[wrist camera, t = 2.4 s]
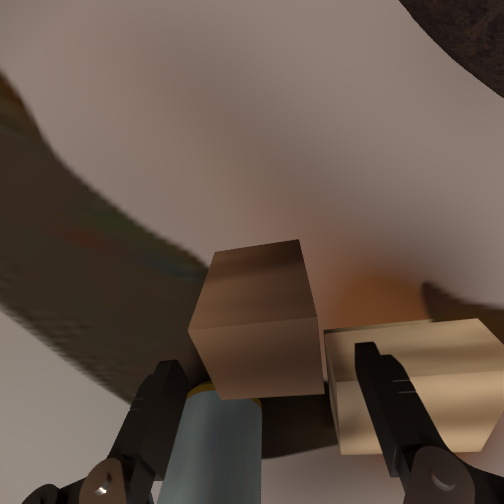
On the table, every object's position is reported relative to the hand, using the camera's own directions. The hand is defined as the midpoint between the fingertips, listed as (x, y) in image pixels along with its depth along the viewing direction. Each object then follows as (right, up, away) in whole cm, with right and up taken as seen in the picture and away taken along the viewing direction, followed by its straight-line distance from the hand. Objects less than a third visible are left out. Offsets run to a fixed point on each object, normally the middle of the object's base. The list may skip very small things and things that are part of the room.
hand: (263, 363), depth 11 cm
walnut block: (0, +3, +5) cm, 6 cm away
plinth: (+11, -4, +9) cm, 14 cm away
